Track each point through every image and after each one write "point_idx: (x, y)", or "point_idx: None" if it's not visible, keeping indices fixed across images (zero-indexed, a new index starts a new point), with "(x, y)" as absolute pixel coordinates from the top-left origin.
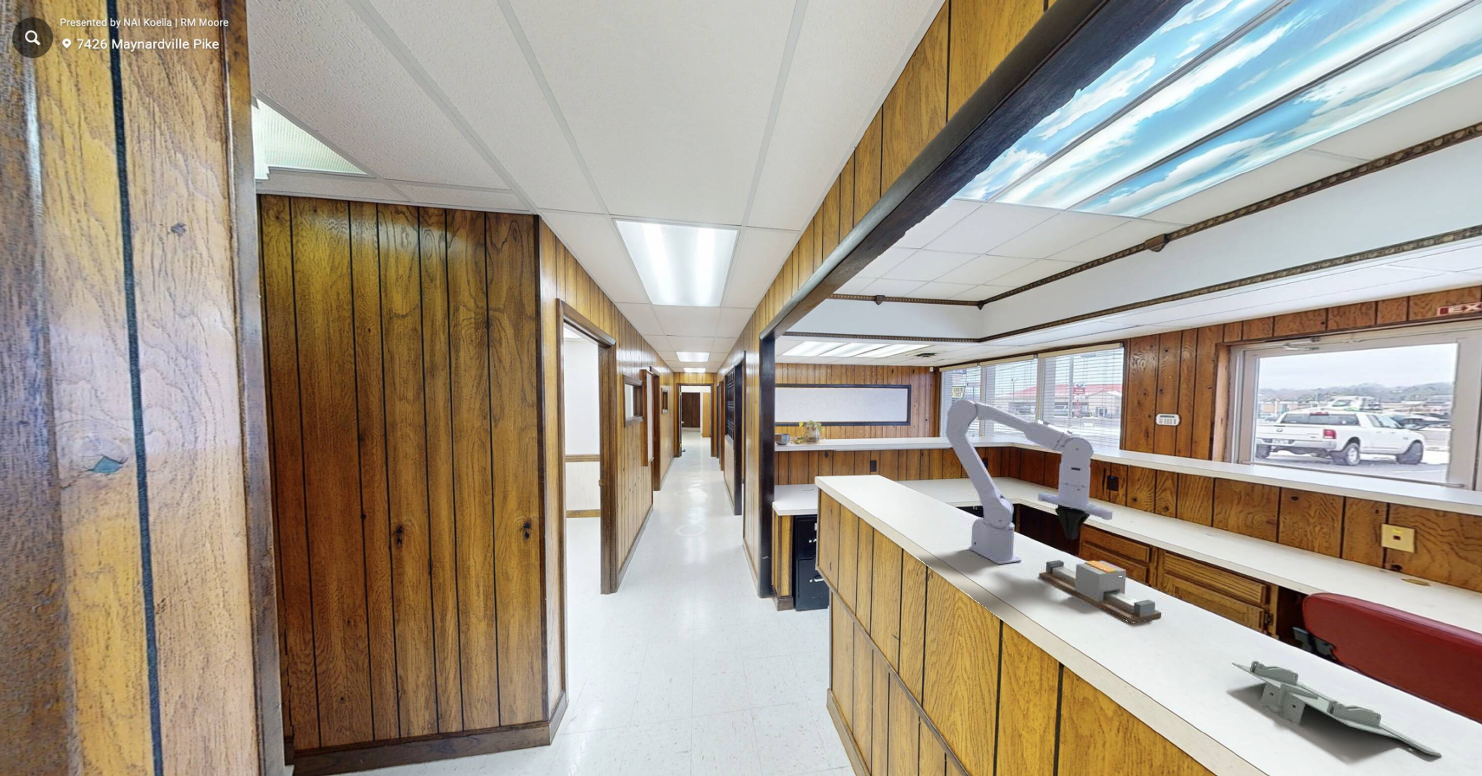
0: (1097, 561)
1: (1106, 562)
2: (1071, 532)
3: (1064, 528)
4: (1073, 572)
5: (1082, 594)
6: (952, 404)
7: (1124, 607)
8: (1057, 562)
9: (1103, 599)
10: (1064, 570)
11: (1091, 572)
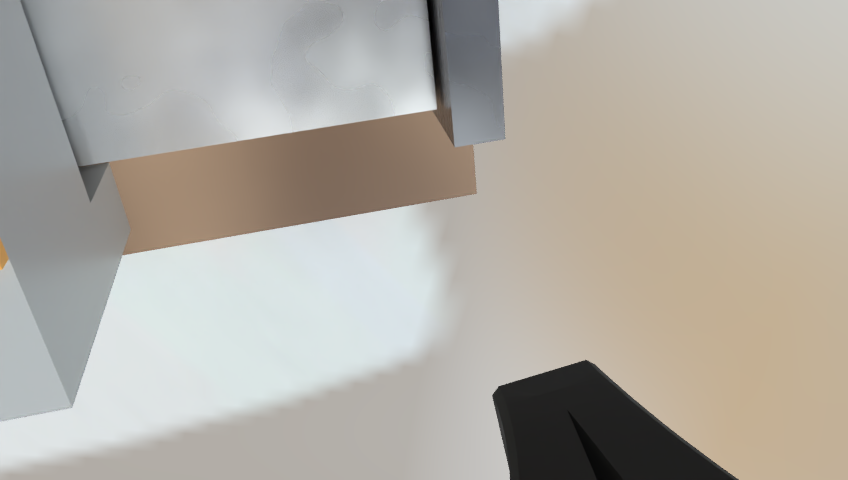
0: (27, 317)
1: (14, 414)
2: (524, 474)
3: (675, 458)
4: (287, 98)
5: None
6: None
7: None
8: (455, 48)
9: None
10: (342, 30)
11: None
